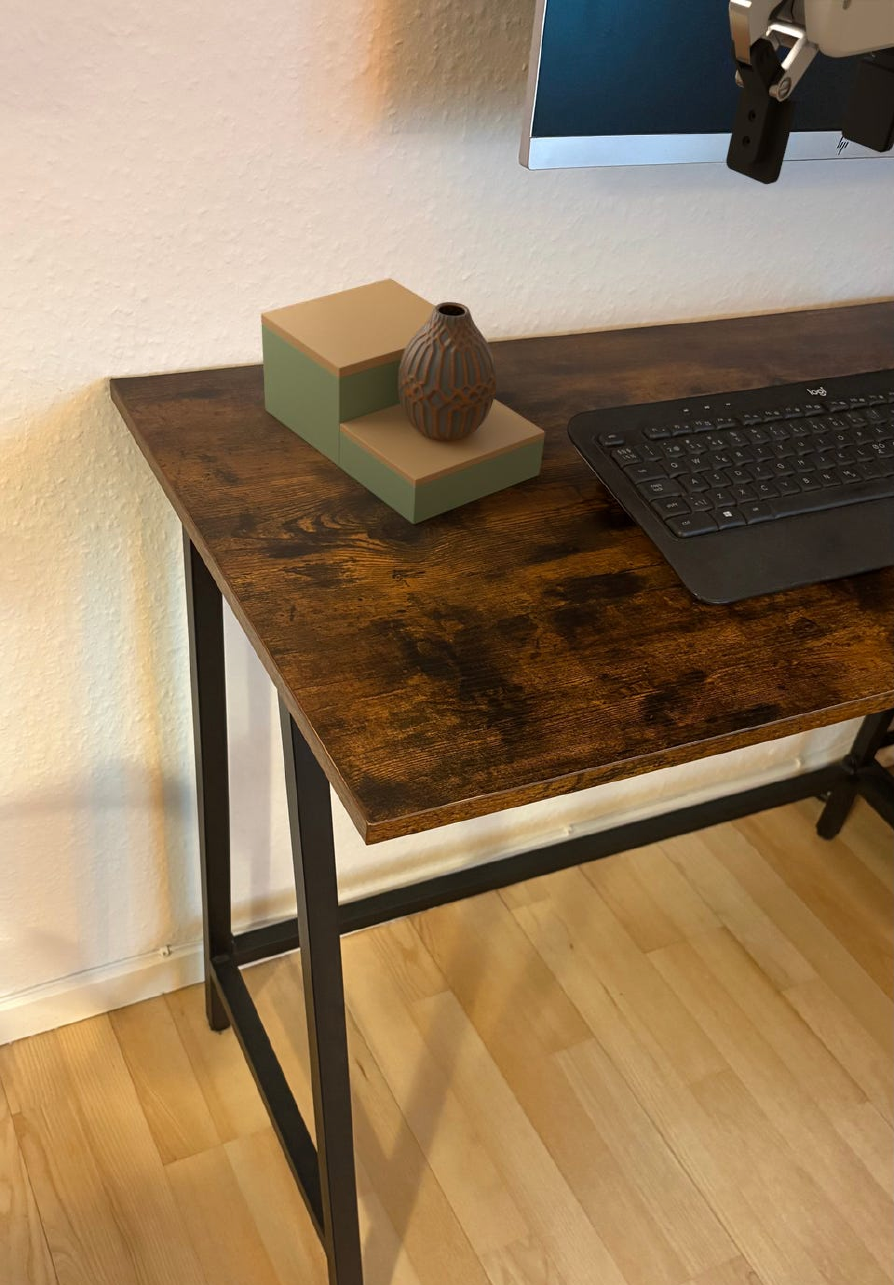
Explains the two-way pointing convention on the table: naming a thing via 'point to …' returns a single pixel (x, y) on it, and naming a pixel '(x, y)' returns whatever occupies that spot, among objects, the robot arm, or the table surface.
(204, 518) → the table surface
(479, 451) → the two-step display riser
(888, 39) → the robot arm
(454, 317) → the vase
